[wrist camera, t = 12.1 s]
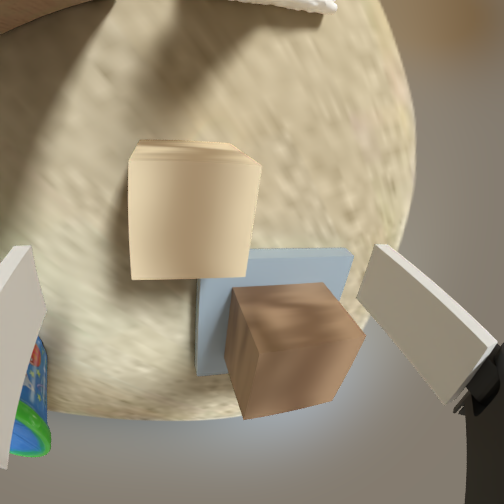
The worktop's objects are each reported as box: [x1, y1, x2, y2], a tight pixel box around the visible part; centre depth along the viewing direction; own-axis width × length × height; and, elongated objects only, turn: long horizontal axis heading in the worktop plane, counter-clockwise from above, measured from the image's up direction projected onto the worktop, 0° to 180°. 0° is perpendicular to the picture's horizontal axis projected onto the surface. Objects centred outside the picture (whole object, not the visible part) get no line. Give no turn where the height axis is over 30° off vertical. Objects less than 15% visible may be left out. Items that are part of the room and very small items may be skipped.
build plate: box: [195, 248, 354, 376], centre depth 27 cm, size 13×13×2 cm
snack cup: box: [9, 336, 51, 457], centre depth 17 cm, size 16×10×10 cm
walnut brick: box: [224, 282, 366, 420], centre depth 23 cm, size 8×8×7 cm
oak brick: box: [128, 140, 262, 280], centre depth 17 cm, size 6×6×7 cm
